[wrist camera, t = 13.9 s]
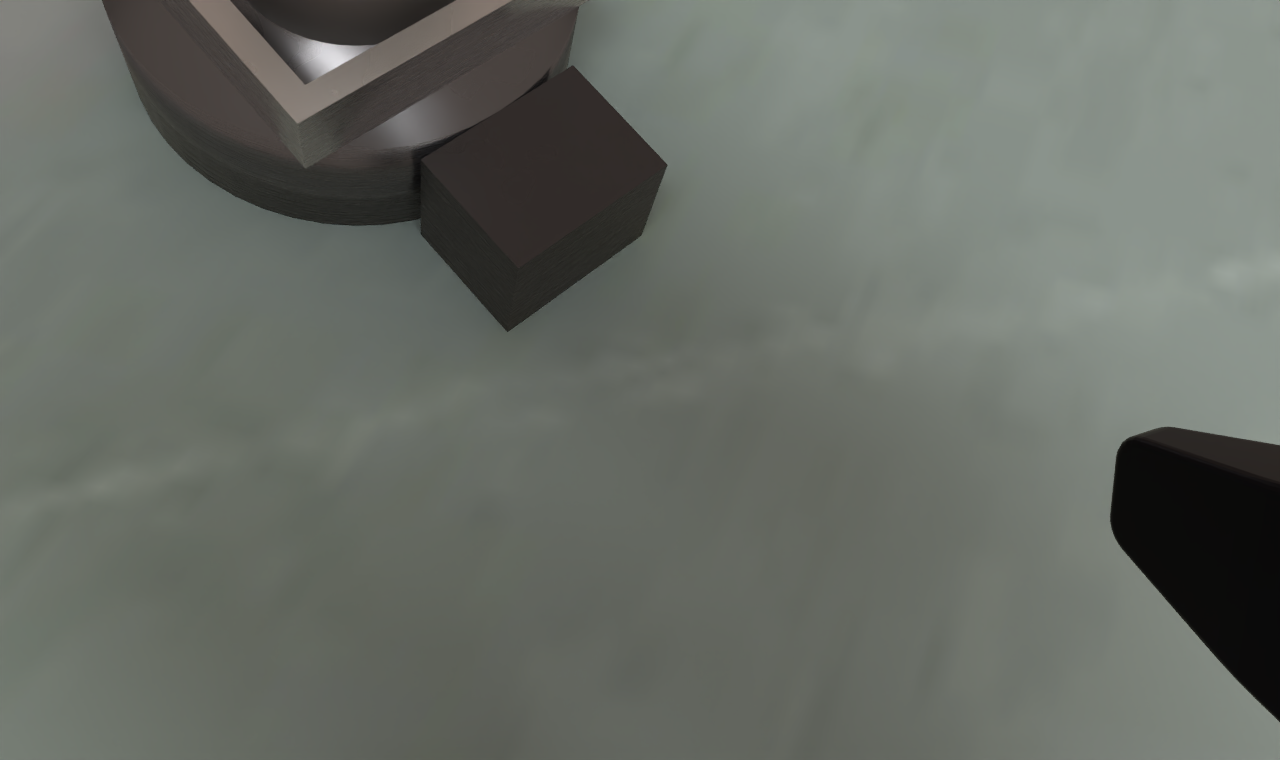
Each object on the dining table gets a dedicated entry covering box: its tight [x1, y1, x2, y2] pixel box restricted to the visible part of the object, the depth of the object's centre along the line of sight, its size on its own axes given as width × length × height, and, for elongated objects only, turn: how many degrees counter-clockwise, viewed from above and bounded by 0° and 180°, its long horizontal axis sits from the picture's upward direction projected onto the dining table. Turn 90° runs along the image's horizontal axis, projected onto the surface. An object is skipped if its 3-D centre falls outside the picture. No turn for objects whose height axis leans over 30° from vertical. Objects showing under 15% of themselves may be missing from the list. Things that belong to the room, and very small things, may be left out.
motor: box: [102, 0, 667, 332], centre depth 24 cm, size 13×10×4 cm
